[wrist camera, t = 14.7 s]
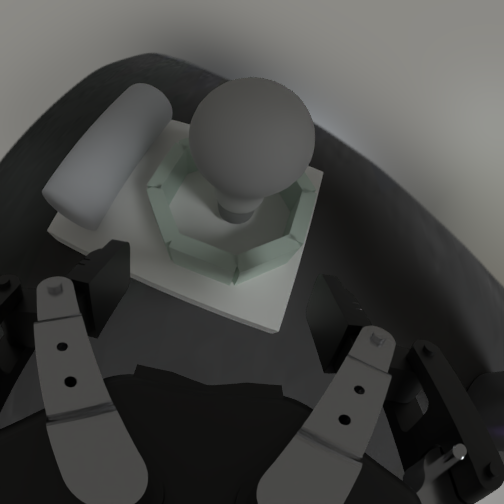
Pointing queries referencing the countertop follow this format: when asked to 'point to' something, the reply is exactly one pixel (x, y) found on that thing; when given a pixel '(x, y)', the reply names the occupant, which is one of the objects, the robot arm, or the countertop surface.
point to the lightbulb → (250, 143)
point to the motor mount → (178, 214)
